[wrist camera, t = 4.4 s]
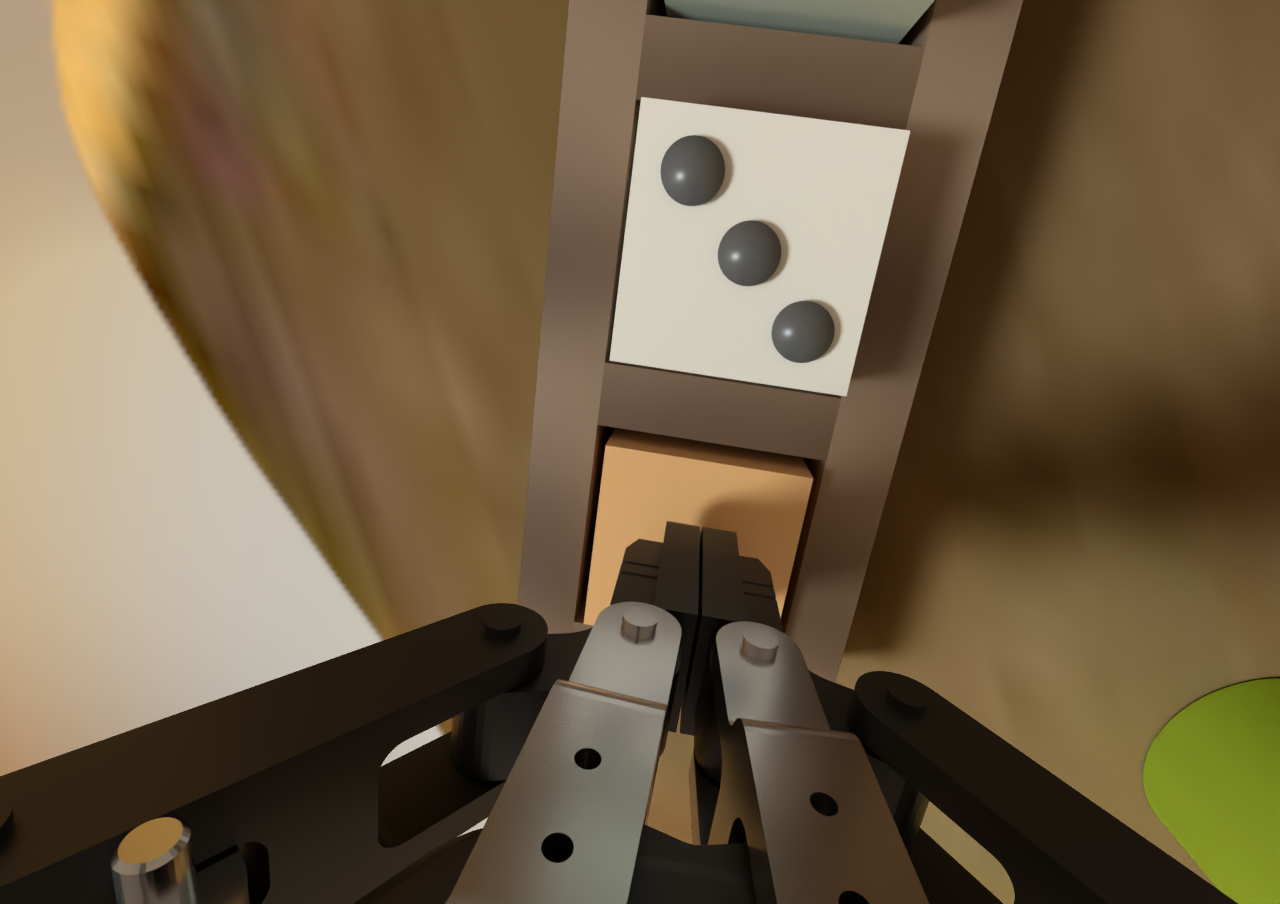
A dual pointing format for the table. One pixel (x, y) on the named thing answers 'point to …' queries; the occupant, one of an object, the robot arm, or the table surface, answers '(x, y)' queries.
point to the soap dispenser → (1224, 787)
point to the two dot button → (810, 16)
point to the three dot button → (752, 243)
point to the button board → (726, 408)
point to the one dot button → (695, 503)
